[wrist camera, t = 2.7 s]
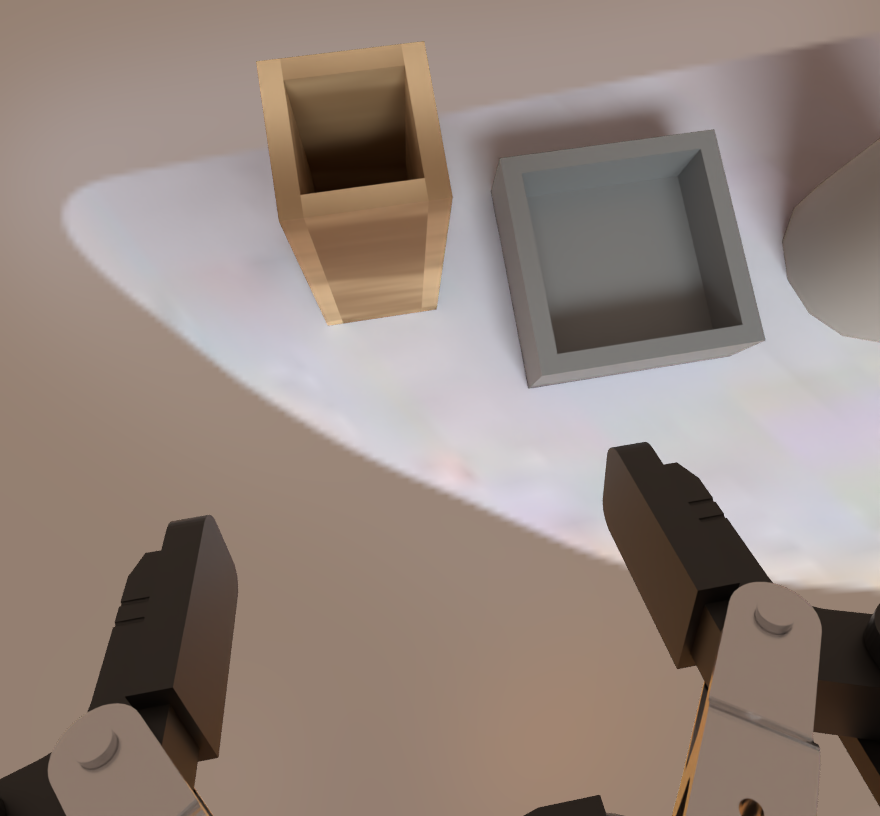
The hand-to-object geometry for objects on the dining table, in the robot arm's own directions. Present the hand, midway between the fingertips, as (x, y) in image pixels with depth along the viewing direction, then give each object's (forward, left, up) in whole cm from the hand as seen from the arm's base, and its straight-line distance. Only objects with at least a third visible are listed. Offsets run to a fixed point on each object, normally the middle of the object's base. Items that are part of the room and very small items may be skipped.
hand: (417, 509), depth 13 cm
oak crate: (-7, -8, -15) cm, 19 cm away
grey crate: (-14, 0, -15) cm, 21 cm away
